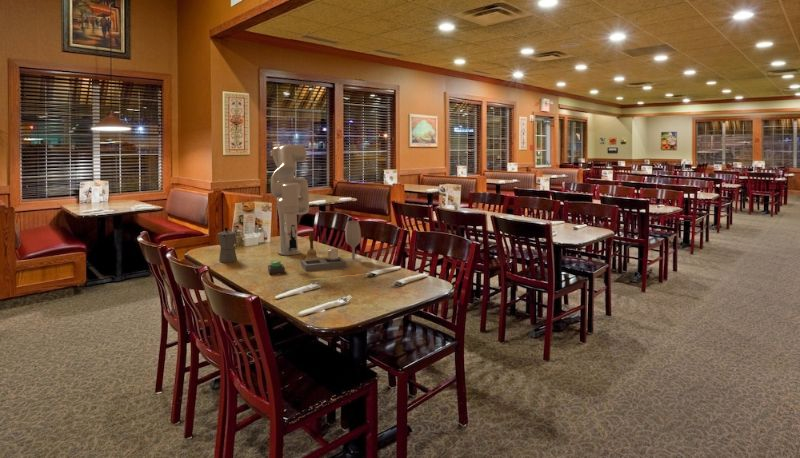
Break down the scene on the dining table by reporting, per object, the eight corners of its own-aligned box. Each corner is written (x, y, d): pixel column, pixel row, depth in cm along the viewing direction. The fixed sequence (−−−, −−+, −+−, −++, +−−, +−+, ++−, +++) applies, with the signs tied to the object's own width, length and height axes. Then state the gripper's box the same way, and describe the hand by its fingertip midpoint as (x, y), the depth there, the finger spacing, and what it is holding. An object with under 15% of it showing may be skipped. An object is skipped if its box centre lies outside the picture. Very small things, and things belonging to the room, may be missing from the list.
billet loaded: (327, 264, 254) (326, 249, 252) (336, 263, 255) (336, 248, 254) (329, 266, 249) (329, 251, 248) (339, 266, 251) (338, 250, 250)
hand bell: (321, 259, 270) (320, 229, 267) (317, 262, 262) (316, 232, 259) (306, 258, 271) (305, 229, 268) (302, 262, 263) (300, 232, 260)
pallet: (301, 267, 252) (300, 260, 252) (339, 263, 260) (339, 256, 259) (305, 272, 241) (305, 265, 241) (346, 268, 249) (345, 261, 248)
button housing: (268, 271, 244) (267, 265, 244) (282, 270, 247) (282, 264, 246) (269, 274, 238) (269, 268, 237) (284, 273, 240) (284, 267, 240)
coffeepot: (235, 263, 261) (233, 229, 258) (216, 264, 260) (213, 229, 257) (240, 256, 276) (238, 224, 273) (222, 257, 275) (220, 225, 272)
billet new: (286, 248, 245) (285, 232, 244) (296, 247, 247) (295, 231, 246) (287, 250, 241) (287, 234, 239) (298, 250, 243) (297, 233, 241)
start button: (270, 266, 243) (270, 261, 243) (280, 265, 245) (279, 260, 244) (272, 268, 239) (271, 263, 239) (281, 267, 241) (281, 262, 240)
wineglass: (361, 263, 260) (360, 223, 257) (344, 263, 260) (343, 223, 257) (362, 259, 269) (361, 220, 265) (346, 259, 269) (345, 220, 265)
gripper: (279, 207, 247) (281, 243, 250) (285, 212, 231) (287, 251, 235) (295, 206, 249) (296, 242, 253) (301, 211, 234) (303, 249, 237)
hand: (292, 246), depth 244 cm, fingers closed on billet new, 5 cm apart
